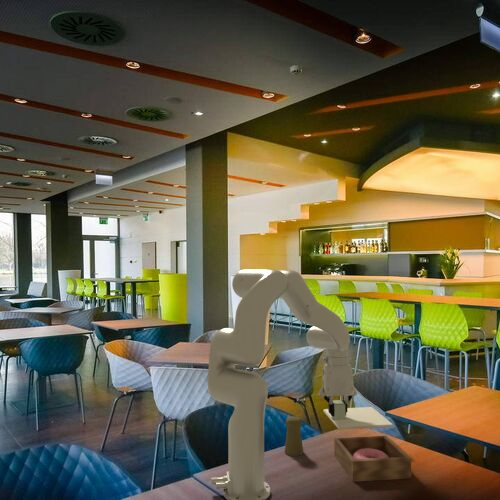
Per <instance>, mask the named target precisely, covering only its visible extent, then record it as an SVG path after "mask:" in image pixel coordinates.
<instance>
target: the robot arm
mask: <svg viewBox="0 0 500 500" xmlns="http://www.w3.org/2000/svg"><path fill="white" fill-rule="evenodd" d="M231 286H232V290H233V292H234V293H235V295H237V296H238V298H241V299H240V301H239V303H238V305H237V307H236V311H235V319H234V325H233V326H234V328H232V327H224V328H221V329H219V330H217V332H216V333H215V334H214V336H213V337H212V339H211V342H210V345H209V353H208V354H209V355H208V356H209V357H208V369H207V371H208V372H207V390H208V393H209V394H208V395H209V396H210V397H211V398H212V399H213V400H215V401H217V402H220V403H222V404H225V405H229V406H232V407H233V408H234V410H233V413H232V414H231V416H230V419H229V420H228V428H227V429H228V430H227V431H228V432H227V433H228V438H227V439H228V450H227V451H228V462H227V463H228V471H227V470H226V475H222V476H220V477H218V476H214V477H210V480H211V481H210V485H211V486H215V489H216V490H217V489H218V490H219V489H221V490H222V495H223V497H224V498H225V500H267V499H268V498H269V497H270V495H271V487H270V485H269V483H267V482H266V481H265V413H266V404H267V399H268V395H269V394H268V393H269V386H268V384H267V381H266V380H265V378H264V377H263V376H261V375H260V374H258V373H256V372H252V371H249V370H244V369H237V368H236V366H237V365H239V366H243V367H250V368H251V367H257V366H259V365H260V364H261V363H262V361H263V360H264V356H265V345H266V331H267V330H266V328H267V317H268V314H269V311H270V309H271V307H272V306H273V305H274V304H275V302H276V301H277V300H279V298H280V299H282V300H283V301H284V303H285V304H286V305H287V307H288V308H289V310H290V311H291V313H292V315H293V316H294V317H295V318H296V319H297V320H299V321H300V322H302V323H304V324H306V325H310V326H311V327H310V328H309V329H308V330H307V331H306V335H305V338H306V339H305V340H306V343H307V344H308V345H309V346H310V347H312V348H316V349H319V350H325V356H324V357H321V362H322V363H323V362H324V364H323V369H322V378H321V379H322V380H321V384H322V385H321V387H320V389H319V391H318V393H317V395H318V397H320V398H322V399H324V400H325V401H326V402H327V404H328V406H327V409H328V411H329V413H330V414H331V416H332V417H333V416H334V404H333V400H334V397H342V399H341V401H342V402H343V403H344V404H345V416H346V412H347V408H348V404H349V402H350V401H351V400H352V398H355V396H357V395H358V392H357V390H356V388H355V385H354V384H355V383H354V375H353V369H352V365H351V364H350V363H349V347H350V343H351V337H350V333H349V330H348V326H347V325H346V324H345V323H344V321H343V320H342V319H341V317H340V316H339V315H338V314H337V313H335V312H334V311H332V310H331V309H329V308H328V307H327V306H325V305H324V304H322V303H320V302H318V300H317V299H316V297H315V295H314V293H313V292H312V291H311V289H310V287H309V286H308V284H307V283H306V281H305V279H304V278H303V276H302V275H301V274H300V273H299V272H297V271H296V270H291V269H271V268H270V269H269V268H262V269H261V268H259V269H255V268H254V269H253V268H251V269H249V268H248V269H241V270H238V272H236V274H235V275H234V276H233V278H232V285H231Z"/></svg>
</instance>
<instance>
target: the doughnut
mask: <svg viewBox="0 0 500 500" xmlns="http://www.w3.org/2000/svg"><path fill="white" fill-rule="evenodd" d="M353 457H354V459H355V460H357V459H375V458H389V457H388V455H386V454H385V453H384V452H382V451H380V450H377V449H371V448H365V449H359V450H357V451H356V452H355V453H354V455H353Z"/></svg>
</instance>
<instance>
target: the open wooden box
mask: <svg viewBox="0 0 500 500" xmlns="http://www.w3.org/2000/svg"><path fill="white" fill-rule="evenodd" d="M333 441H334V442H333V443H334V444H333V445H334V446H333V447H334V448H333V451H334V453H333V455H334V458H335V460H336V461H338V463H339V464H340V466H341V467H342V469H343V470H344V471H345V472H346V474H347V475H348V477H349V478H350V480H351V481H352V482H353V483H355V482H368V481H369V482H371V481H372V482H373V481H387V480H388V481H389V480H402V479H403V480H404V479H412V458H411V457H410V456H409V455H408V454H407V452H405V451H404V450H402V449H401V447H399V446H398V445H397V444H396V443H394V441H392V440H391V439H390V438H389V437H388V436H387V435H377V436H376V435H375V436H373V435H372V436H353V437H352V436H351V437H337V438H335V437H334V440H333ZM365 448H371V449H377V450H380V451H382V452H384V453H385V454H386V455H388V457H389V458H375V459H357V460H355V459H354V457H353V455H354V453H355V452H356V451H357V450H359V449H365Z"/></svg>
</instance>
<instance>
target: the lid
mask: <svg viewBox="0 0 500 500" xmlns="http://www.w3.org/2000/svg"><path fill="white" fill-rule="evenodd" d="M333 404H334V416H333V417H332V416H331V414H330V413H329V411H328V408H325V409H323V413H324V414H325V415H326V416H327V417H328V418H329V420H330V421H331V423H333V425H334V426H335V427H336V428H337V429H338V430H339V431H340V430H341V431H342V430H345V431H346V430H361V429H362V430H363V429H376V428H378V429H380V428H393V427H394V424H393V423H392V422H391V421H389V420H388V419H387V418H386V417H385V416H384V415H382V414H381V413H380V412H378V411H377V410H376V409H375V408H374V407H372V406H365V407H347V412H346V416H345V404H344V403H343V402H342V399H340V400H337V399H333Z"/></svg>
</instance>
